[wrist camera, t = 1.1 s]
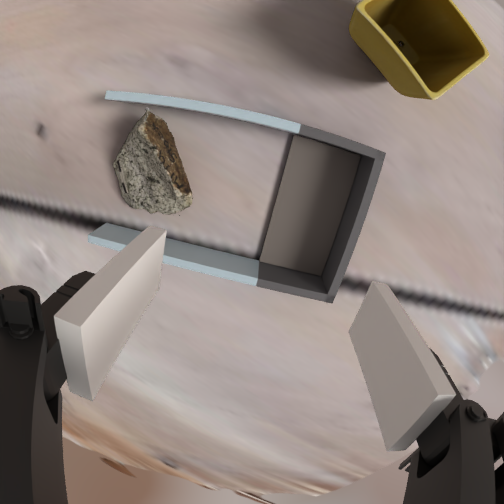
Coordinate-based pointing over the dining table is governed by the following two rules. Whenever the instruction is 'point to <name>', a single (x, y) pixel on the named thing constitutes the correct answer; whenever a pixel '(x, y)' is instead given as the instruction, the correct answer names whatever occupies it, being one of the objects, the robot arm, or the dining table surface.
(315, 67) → the dining table surface
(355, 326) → the robot arm
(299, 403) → the dining table surface
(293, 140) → the grey open box
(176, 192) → the rock sample
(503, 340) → the dining table surface
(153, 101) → the strips
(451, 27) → the flower pot
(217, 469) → the dining table surface
